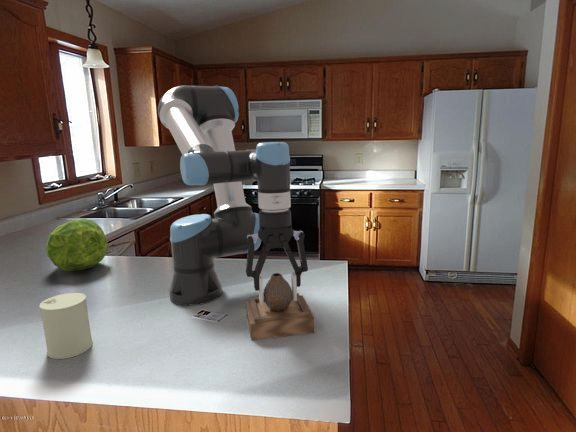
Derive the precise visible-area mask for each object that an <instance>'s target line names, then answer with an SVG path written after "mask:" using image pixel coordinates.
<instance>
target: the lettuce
mask: <svg viewBox="0 0 576 432" xmlns="http://www.w3.org/2000/svg"><path fill="white" fill-rule="evenodd" d="M107 239H108V238H107V236H106V233H105V231H104V230H103V228H102V227H101V226H100V225H99V224H97V223H96V221H94V220H90V219H87V218H86V219H85V218H79V219H74V220H70V221H67V222H65V223H63V224H61V225H59V226H57V227H56V228H55V229H54V230H53V231H52V232H51V233H50V234H49V235H48V238H47V241H46V243H45V251H46V256H47V257H48V259H49V260H50V262H52V264H53V265H54V266H55V267H57V268H59V269H61V270H63V271H66V272H78V271H82V270H85V269H86V270H87V269H89V268H93V267H94V266H96V265H97V264H99V263H100V262H102V261H103V259H104V258H105V257H106V256H107V253H108V249H109V247H108V246H109V244H108V240H107Z"/></svg>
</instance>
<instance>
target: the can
mask: <svg viewBox="0 0 576 432" xmlns="http://www.w3.org/2000/svg"><path fill="white" fill-rule="evenodd" d="M38 306H39V309H40V315H41V321H42V326H43V332H44V339H45V344H46V355H47V357H49V358H50V359H54V360H65V359H70V358H74V357H76V356H79V355H82V354H83V353H86V352H87V351H88V350H90V348H92V346H93V345H94V341H93V338H92V334H91V333H92V332H91V325H90V318H89V310H88V305H87V295H86V294H85V293H82V292H68V293H66V292H65V293H61V294H57V295H53V296H51V297H49V298H46V299H45V300H43V301H41V302H40V304H39V305H38Z"/></svg>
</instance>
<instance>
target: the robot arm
mask: <svg viewBox="0 0 576 432" xmlns="http://www.w3.org/2000/svg"><path fill="white" fill-rule="evenodd" d="M157 113H158V118H159V120H160V122H161V124H162V125H163V126H164V127H165V128H166V129H168V130H169V132H170V134H171V135H172V137H173V139H174V141H175V143H176V145H177V147H178V150H179V151H180V153H181V157H180V159H179V160H180V161H179V168H180V175H181V178H182V181H183V183H184V184H186V185H187V186H201V187H202V186H205V185H213V190H214V193H215V199H216V207H217V208H216V209H215V210H214V212H213V216H214V218H213V217H212V216H211V215H210V214H207V213H201V214H199V213H198V214H192V215H187V216H184V217H181V218H178V219H176V220H175V221H174V222H172V224H171V225H170V230H169V231H170V237H169V241H170V243H171V244H170V245H171V253H172V265H173V266H172V268H173V275H172V279H171V282H170V287H169V290H168V291H169V299H170V301H171V302H172V303H174V304H177V305H183V306H194V305H195V306H196V305H202V304H207V303H210V302H213V301H215V300H217V299H218V298H220V297H221V295H222V294H223V285H222V282H221V280H220V278H219V275H218V274H217V270H216V268H215V259H217V258H222V257H228V256H235V255H241V254H242V255H244V254H247V257H246V265H245V268H246V269H245V274H246V276H247V277H248V278H250V277H251V278H253V288H254V291H255V292H256V291H258V297H259V301H260V305H262V304H264V302H263V297H264V285H263V283H264V281H263V277H262V274H261V273H262V270H263V268H264V265H265V263H266V259H267V257H268V254H269V252H270V250H274V249H276V248H277V249H284V252H285V253H286V255H287V258H288V261H289V262H290V264H291V266H292V267H291V268H292V269H293V271H291V273H290V275H291V276H290V277H291V290H292V298H293V300H294V301H297V293H298V292H297V291H298V289H297V288H298V287H301V284H302V283H301V282H302V281H301V280H302V278H301V276H302V273H304V272H305V273H306V272H308V271H309V267H308V260H307V255H306V250H305V243H304V241H305V235H306V234H305V233H304V231H303V230H294V229H293V228H292V210H291V209H290V208H291V207H292V206H291V205H292V203H291V157H290V147H289V144H288V143H287V142H285V141H279V142H278V141H275V142H274V141H271V142H270V141H269V142H268V141H267V142H259V143H258V144H256V148H253V149H249V148H248V149H246V150H236V147H235V143H234V137H233V133H232V132H233V130H234V128H235V127H236V123H237V122H238V120H239V116H240V112H239V104H238V100H237V97H236V95H235V92H233V90H232V89H231V88H229V87H227V86H219V85H212V86H210V85H207V86H205V85H178V86H177V85H176V86H175V87H172V88H171V89H169V90H167V91H166V92H165V93H164V94H163V96H161V98H160V100H159V103H158V106H157ZM249 181H250V182H251V181H252V182H253V181H257V199H258V203H257V204H258V208H259V211H258V213H256V212H253V208H252V206H251V205H250V204H248V203H247V202H246V197H245V193H244V189H243V183H242V182H249ZM293 237H294V240H296V245H297V250H298V257H299V261H300V266H299V265H298V262H297V260H296V258H295V256H294V254H293V251H292V249H291V246H290V245H289V242H290V241H291V239H292V238H293ZM261 243H263V245H262V247H261V251H260V254H259V257H258V260H257V262H256V264H255V267H254V270H253V265H254V258H255V255H254V254H255V251H257V250H258V249H259V248H260V245H261Z"/></svg>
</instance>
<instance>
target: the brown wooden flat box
mask: <svg viewBox="0 0 576 432" xmlns="http://www.w3.org/2000/svg"><path fill="white" fill-rule="evenodd" d="M263 302H264V304H262V305H260V301H259V296H258V297H257V296H256V297H250V298H249V300H245V308H246V319H247V324H248V331H249V334H250V336H249V337H250V340H251V341H253V340H262V339H263V340H264V339H270V338H271V339H272V338H278V337H279V338H280V337H288V336H297V335H304V334H305V335H307V334H313V333H315V316H314V313H313V312H312V310H311V308H310V306H309V305H308V303H307V301H306V299H305V297H304V296H303V295H302V294H300V293H299V292H297V301H294V300H293V298H292V300H291V303H290V305H289V307H288V308H287V309H285V310H284V311H278V312H277V311H272V310H271V309H270V308H269V307H268V306H267V305H266V303H265V300H264V296H263Z"/></svg>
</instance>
